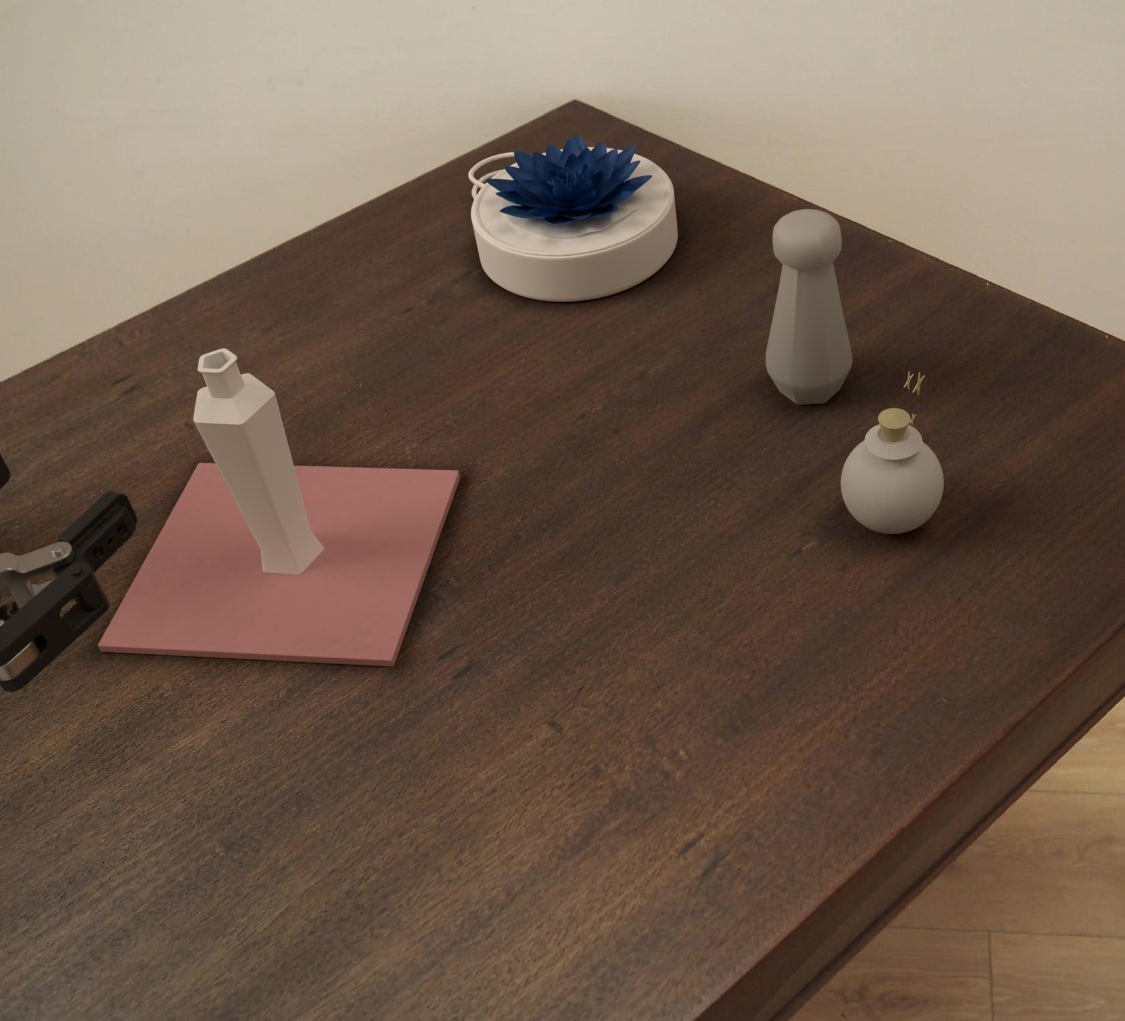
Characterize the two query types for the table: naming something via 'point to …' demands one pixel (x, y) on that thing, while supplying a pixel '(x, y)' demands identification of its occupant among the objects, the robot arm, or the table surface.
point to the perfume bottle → (255, 461)
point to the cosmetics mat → (285, 601)
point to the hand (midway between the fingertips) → (61, 481)
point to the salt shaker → (808, 310)
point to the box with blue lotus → (573, 221)
